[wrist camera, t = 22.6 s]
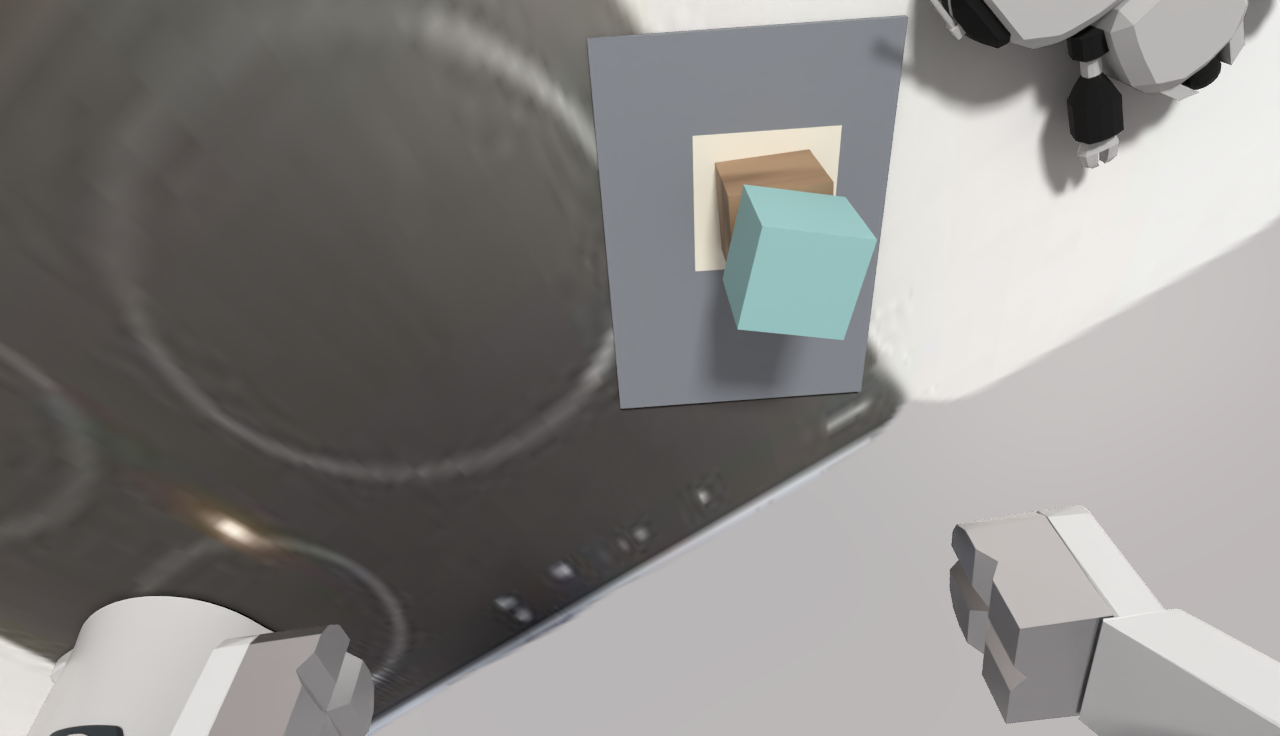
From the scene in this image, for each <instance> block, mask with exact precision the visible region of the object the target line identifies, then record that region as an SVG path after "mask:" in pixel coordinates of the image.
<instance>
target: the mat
mask: <svg viewBox="0 0 1280 736" xmlns="http://www.w3.org/2000/svg"><path fill="white" fill-rule="evenodd" d="M907 21H908V17H907V16H905V15H903V16H889V17H875V18H861V19H847V20H833V21H819V22H805V23H791V24H777V25H763V26H749V27H735V28H721V29H707V30H693V31H679V32H665V33H651V34H637V35H623V36H609V37H595V38H587V44H588V55H589V66H590V77H591V88H592V99H593V110H594V121H595V132H596V143H597V154H598V165H599V176H600V187H601V198H602V209H603V220H604V231H605V242H606V253H607V264H608V275H609V286H610V298H611V309H612V320H613V331H614V342H615V353H616V364H617V375H618V386H619V397H620V408H621V409H624V408H638V407H652V406H665V405H679V404H693V403H707V402H720V401H734V400H748V399H761V398H775V397H789V396H803V395H816V394H830V393H844V392H858V391H861V386H862V378H863V370H864V362H865V354H866V346H867V338H868V330H869V322H870V315H871V307H872V299H873V291H874V283H875V275H876V267H877V259H878V251H879V243H880V235H881V227H882V219H883V211H884V204H885V196H886V188H887V180H888V172H889V164H890V156H891V148H892V140H893V132H894V124H895V116H896V108H897V100H898V92H899V85H900V77H901V69H902V61H903V53H904V45H905V37H906V29H907ZM807 149H810V151H811V152H812V154H813V155H814V156H815V158H816V159H817V160H818V162H819V163H820V164H821V166H822V167H823V168H824V170H825V171H826V172H827V174H828V175H829V176H830V178H831V179H832V180H833V182H834V190H833V195H834V196H842V197H846V198H847V200H848V201H849V202H850V204H851V205H852V206H853V208H854V209H855V211H856V212H857V213H858V215H859V216H860V217H861V219H862V220H863V221H864V223H865V224H866V225H867V227H868V228H869V229H870V231H871V232H872V233H873V235H874V236H875V237H876V239H877V242H876V245H875V248H874V251H873V254H872V257H871V260H870V263H869V266H868V269H867V272H866V275H865V278H864V281H863V284H862V287H861V290H860V293H859V296H858V299H857V302H856V305H855V308H854V311H853V313H852V316H851V319H850V322H849V325H848V328H847V331H846V334H845V337H844V340H837V339H827V338H817V337H807V336H798V335H788V334H778V333H768V332H758V331H748V330H738V329H737V327H736V323H735V320H734V317H733V313H732V310H731V306H730V303H729V300H728V296H727V293H726V289H725V286H724V283H723V275H724V270H725V266H726V261H725V258H724V255H723V252H722V248H721V235H720V221H719V208H718V195H717V182H716V169H715V162H722V161H729V160H737V159H744V158H751V157H758V156H765V155H772V154H779V153H786V152H793V151H800V150H807Z"/></svg>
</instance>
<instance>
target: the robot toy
mask: <svg viewBox="0 0 1280 736" xmlns="http://www.w3.org/2000/svg"><path fill="white" fill-rule="evenodd" d="M929 1H930V2H931V3H932V5H933V6H934V7H935V9H936V10H937V11H938V13H939V14H940V15H941V17H942V18H943V19H944V21H945V22H946V23H947V25H946V26H945V27H946V28H947V30H948V31H949V32H950V34H951V35H952V36H954V37H955V38H956V39H958V40H960V39H961V38H962V37H963V36H964V35H965V36H967V37H969V38H971V39H973V40H975V41H977V42H980V43H982V44H985V45H989V46H992V47H995V48H1000V47H1002V46H1004V45H1005V44H1007V43H1009V42H1010V43H1014V44H1017V45H1021V46H1024V47H1028V48H1031V49H1037V48H1040V47H1044V46H1047V45H1051V44H1055V43H1058V42H1061V41H1063V40H1065V39H1067V44H1068V54H1069V56H1070V57H1071V58H1072V59H1073V60H1076V61H1080V72H1081V75H1080V77H1079V78H1078V80H1077V82H1076V83H1075V85H1074V87H1073V89H1072V91H1071V93H1070V95H1069V97H1068V99H1067V107H1068V116H1069V125H1070V134H1071V135H1072V136H1073V138H1074V139H1075V141H1078V142H1081V143H1080V145H1079V147H1078V149H1077V156H1078V159H1079V161H1080V164H1081V166H1082V167H1087V168H1095V167H1097V166H1099V165H1098V153H1099V160H1101V161H1103V162H1104V163H1106V162H1109V161H1111V160H1112V159H1113V158H1114V157H1115V156H1117V152H1118V147H1119V139H1118V137H1117V136H1116V135H1117V134H1118V133H1120V132H1121V131H1122V130H1124V126H1123V110H1122V95H1121V94H1120V92H1119V91H1118V90H1117V89H1116V87H1115V86H1114V85H1113V83H1112V82H1111V81H1110V80H1109V79H1108V78H1107V76H1106V75H1108V76H1110V77H1112V78H1114V79H1116V80H1119V81H1121V82H1123V83H1125V84H1127V85H1129V86H1131V87H1134V88H1136V89H1138V90H1140V91H1142V92H1144V93H1146V94H1149V93H1162V94H1165V95H1167V96H1169V97H1172V98H1174V99H1176V100H1179V101H1180V100H1182V99H1184V98H1187V97H1189V96H1192V95H1194V94H1197V93H1199V92H1197V91H1195V90H1198V89H1201V88H1203V87H1206V86H1208V85H1209V84H1211V83H1212V82H1213V81H1214V80H1215V79H1216V78H1217V77H1218V75H1219V73H1220V71H1221V63H1220V61H1221V62H1224V63H1227V64H1230V65H1232V63H1233V62H1234V60H1235V59H1236V57H1237V55H1238V54H1239V52H1240V51H1241V49H1242V48H1243V46H1244V45H1245V41H1244V22H1243V19H1244V16H1245V13H1246V11H1247V8H1248V5H1249V3H1248V0H942V4H943V6H942V5H941V4H940V2H939V1H938V0H929ZM943 7H944V8H943ZM1105 74H1106V75H1105Z"/></svg>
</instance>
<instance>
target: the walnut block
mask: <svg viewBox="0 0 1280 736" xmlns="http://www.w3.org/2000/svg"><path fill="white" fill-rule="evenodd" d="M715 169H716V182H717V195H718V208H719V221H720V235H721V248H722V252H723V255H724V258H725V261H727V257H728V252H729V248H730V243H731V239H732V234H733V230H734V225H735V221H736V216H737V212H738V207H739V203H740V198H741V193H742V189H743V184H745V185H753V186H761V187H769V188H777V189H785V190H793V191H801V192H809V193H818V194H826V195H833V190H834V182H833V180H832V179H831V178H830V176H829V175H828V174H827V172H826V171H825V170H824V168H823V167H822V166H821V164H820V163H819V162H818V160H817V159H816V158H815V156H814V155H813V154H812V152H811V151H810V149H807V150H800V151H793V152H786V153H779V154H772V155H765V156H758V157H751V158H744V159H737V160H729V161H722V162H715Z"/></svg>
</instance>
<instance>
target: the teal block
mask: <svg viewBox="0 0 1280 736" xmlns="http://www.w3.org/2000/svg"><path fill="white" fill-rule="evenodd" d="M876 242H877V239H876V237H875V236H874V235H873V233H872V232H871V231H870V229H869V228H868V227H867V225H866V224H865V223H864V221H863V220H862V219H861V217H860V216H859V215H858V213H857V212H856V211H855V209H854V208H853V206H852V205H851V204H850V202H849V201H848V200H847V198H846V197H842V196H834V195H826V194H818V193H809V192H801V191H793V190H785V189H777V188H769V187H761V186H753V185H745V184H743V189H742V193H741V198H740V203H739V207H738V212H737V216H736V221H735V225H734V230H733V234H732V239H731V243H730V248H729V252H728V257H727V261H726V266H725V270H724V275H723V283H724V286H725V289H726V293H727V296H728V300H729V303H730V306H731V310H732V313H733V317H734V320H735V323H736V327H737V329H738V330H748V331H758V332H768V333H778V334H788V335H798V336H807V337H817V338H827V339H837V340H844V337H845V334H846V331H847V328H848V325H849V322H850V319H851V316H852V313H853V311H854V308H855V305H856V302H857V299H858V296H859V293H860V290H861V287H862V284H863V281H864V278H865V275H866V272H867V269H868V266H869V263H870V260H871V257H872V254H873V251H874V248H875V245H876Z"/></svg>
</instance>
